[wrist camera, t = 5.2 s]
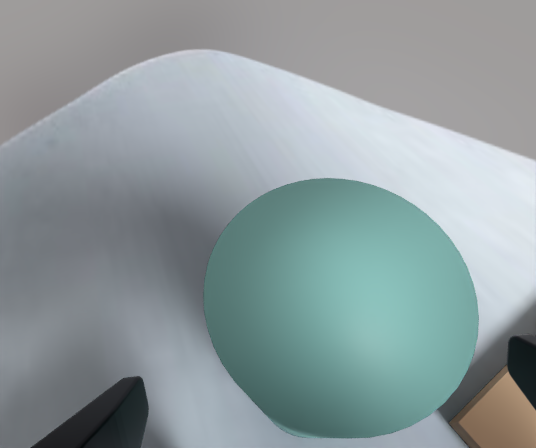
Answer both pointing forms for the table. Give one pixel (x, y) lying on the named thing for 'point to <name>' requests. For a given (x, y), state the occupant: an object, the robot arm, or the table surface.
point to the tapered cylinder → (340, 309)
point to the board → (497, 416)
